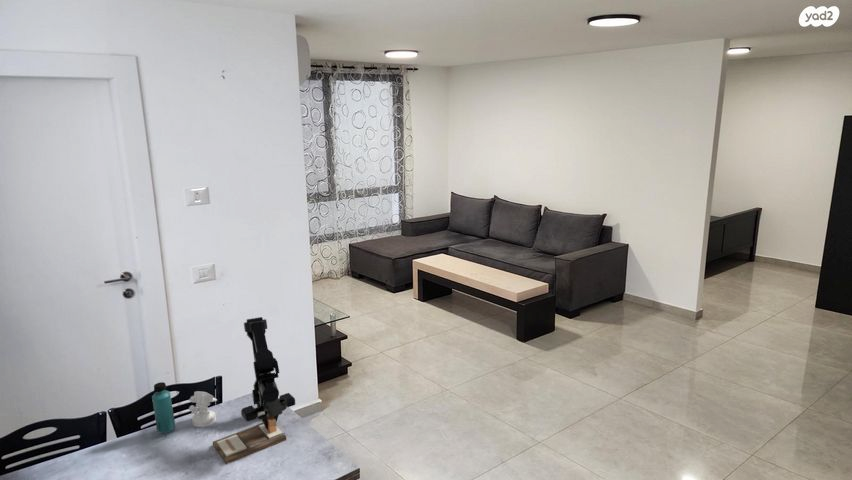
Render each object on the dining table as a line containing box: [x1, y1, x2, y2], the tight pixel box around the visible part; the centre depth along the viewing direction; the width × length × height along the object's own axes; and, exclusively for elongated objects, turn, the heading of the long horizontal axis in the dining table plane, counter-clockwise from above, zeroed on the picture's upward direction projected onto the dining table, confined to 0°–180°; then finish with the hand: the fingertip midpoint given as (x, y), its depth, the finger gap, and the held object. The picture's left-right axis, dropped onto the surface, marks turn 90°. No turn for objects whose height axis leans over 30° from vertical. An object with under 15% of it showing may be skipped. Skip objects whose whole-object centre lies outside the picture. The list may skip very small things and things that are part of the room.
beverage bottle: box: [151, 381, 176, 434], centre depth 200 cm, size 6×7×20 cm
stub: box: [259, 414, 283, 438], centre depth 199 cm, size 10×5×6 cm, turn 38°
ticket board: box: [212, 422, 287, 465], centre depth 194 cm, size 14×22×2 cm, turn 128°
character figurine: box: [188, 390, 218, 428], centre depth 208 cm, size 9×10×12 cm
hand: (270, 427), depth 199 cm, fingers closed on stub, 2 cm apart
